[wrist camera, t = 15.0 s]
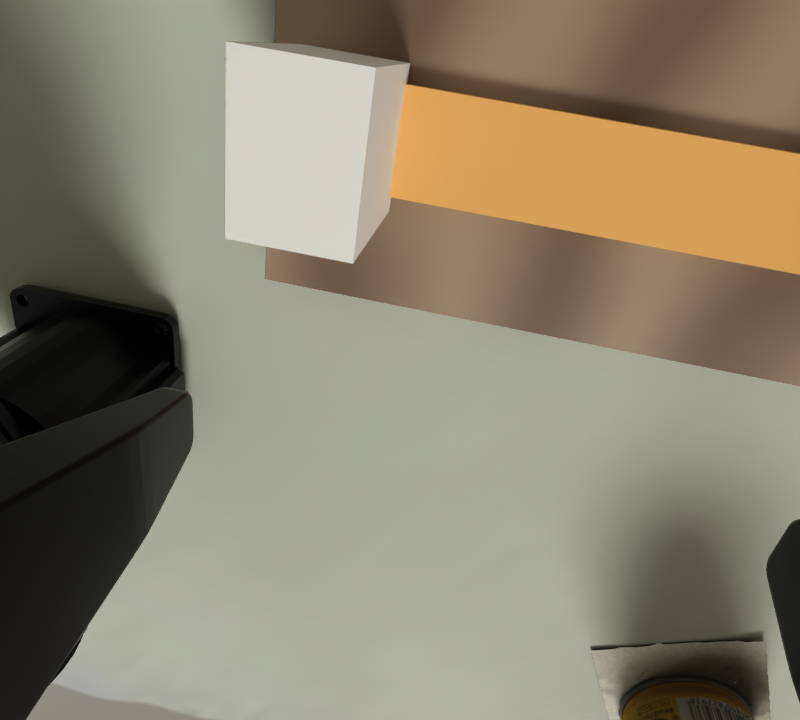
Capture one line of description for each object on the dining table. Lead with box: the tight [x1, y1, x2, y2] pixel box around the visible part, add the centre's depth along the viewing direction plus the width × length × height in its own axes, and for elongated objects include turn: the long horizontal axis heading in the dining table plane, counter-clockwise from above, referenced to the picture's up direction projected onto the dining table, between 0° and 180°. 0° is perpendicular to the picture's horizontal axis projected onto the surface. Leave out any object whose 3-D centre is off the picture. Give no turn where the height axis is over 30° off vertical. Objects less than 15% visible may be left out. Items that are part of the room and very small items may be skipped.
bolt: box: [225, 41, 800, 275], centre depth 14 cm, size 18×4×5 cm, turn 82°
